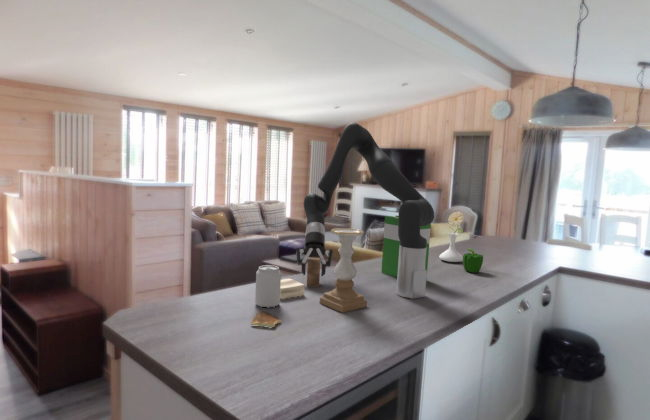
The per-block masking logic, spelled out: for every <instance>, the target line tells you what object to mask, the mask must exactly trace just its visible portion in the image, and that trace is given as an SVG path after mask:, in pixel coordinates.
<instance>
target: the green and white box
mask: <svg viewBox="0 0 650 420" xmlns="http://www.w3.org/2000/svg"><path fill="white" fill-rule="evenodd" d="M431 228H432V223H430V224H429V225H426V226H420V235H421V236H422V237H424V238H425V239H426V240H427V249H426V262H425V270H427V271H428V266H429V264H428V263H429V253H430V252H429V251H430V241H431V239H430V237H431V230H432V229H431ZM383 229H384V230H383V244H382V255H381V257H382V260H381V272H380V273H382V274H385V275H386V276H387V275H388V276H391V277H395V278H397V275H398V261H399V248H400V240H399V236H398V215H395V217H394V216H388V215H385V216H384V227H383ZM426 281H427V278H426Z"/></svg>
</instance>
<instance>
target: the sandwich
mask: <svg viewBox="0 0 650 420" xmlns="http://www.w3.org/2000/svg"><path fill="white" fill-rule="evenodd" d="M277 323H281V324H282V319H280V318H279V317H276V316H275V315H273V314H271V313H269V312H267V311H264V310H262V309H259V311H258V313H257V314H256V315H255V316H254V317H253V318H252V321H251V322H250V325H258V326H268V327H273V328H274V327H276V326H275V324H277Z"/></svg>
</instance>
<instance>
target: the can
mask: <svg viewBox="0 0 650 420" xmlns="http://www.w3.org/2000/svg"><path fill="white" fill-rule="evenodd" d="M281 276H282V271H281V270H280V267H279V266H277V265H272V264H265V265H260V266H258V269H257V271H256V273H255V295H254V296H255V297H254V298H255V300H254V302H255V305H257V306H258V307H259V306H260V307H259V308H262V307H267V308H266V309H270V308H269V307H273V308H275V306H276V307H277V306H278V305H280V302H281V299H280V282H281V280H282V277H281Z"/></svg>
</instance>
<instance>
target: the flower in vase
mask: <svg viewBox="0 0 650 420" xmlns="http://www.w3.org/2000/svg"><path fill="white" fill-rule="evenodd" d="M463 221H465V214H463V213H462V212H461V211H455V212H452V214H450V215H449V217H448V225H449V226H448V227H449V228H450V229H451V230H453V231H454V232H447V234H448V237H449V248H447V249H446V250H445V251H443V252H442V253H440V254H439V255H438V256H439V259H440V260H442V261H445V262H449V263H460V262H463V256H462V255H461V254H460V252H458V251H457V250H456V246H455V245H456V239H457V237H458V236H459V234H460V233H464V230H463V227H459V226H460V225H461V224H463ZM456 226H457V228H456V229H454V228H453V227H456ZM456 232H458V233H456Z"/></svg>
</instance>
